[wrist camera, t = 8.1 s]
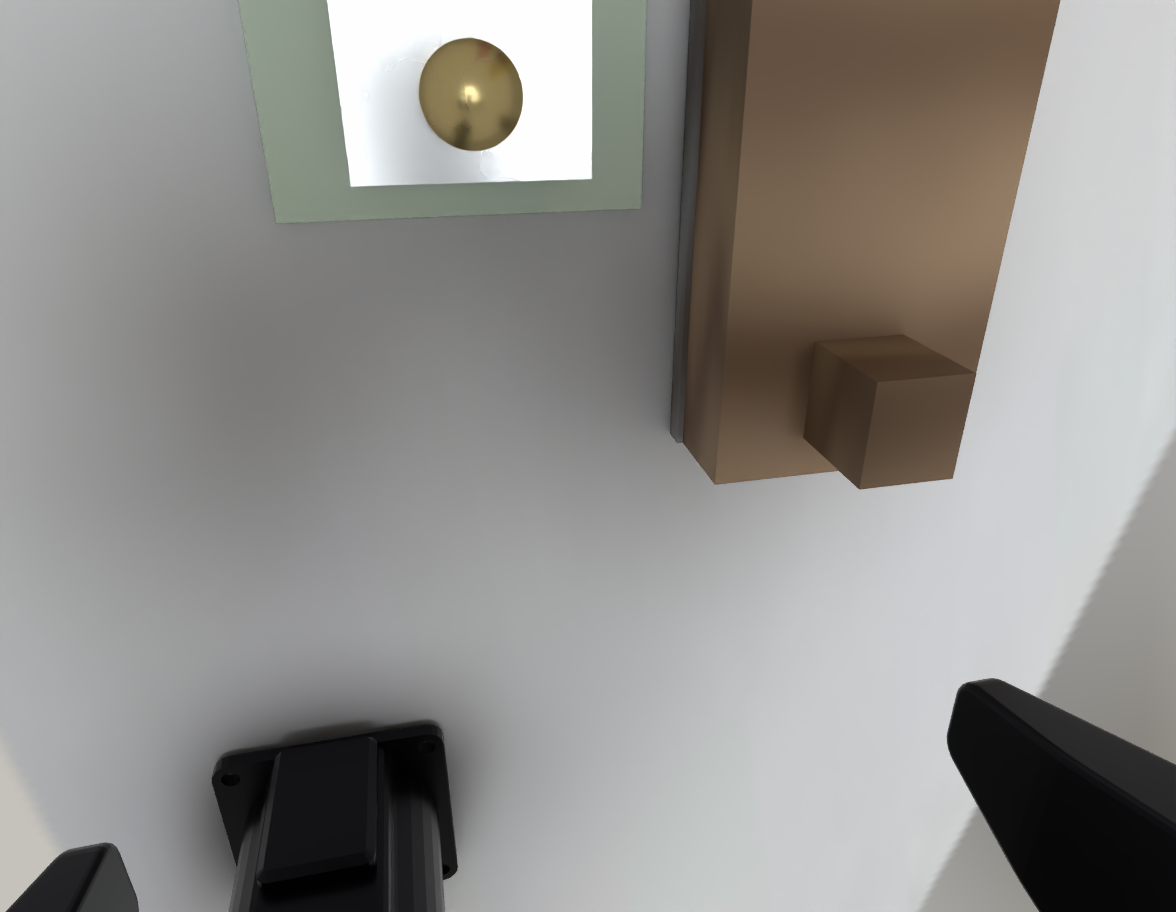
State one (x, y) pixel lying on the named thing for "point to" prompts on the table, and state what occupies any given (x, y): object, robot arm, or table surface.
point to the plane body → (845, 228)
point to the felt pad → (323, 189)
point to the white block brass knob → (464, 89)
